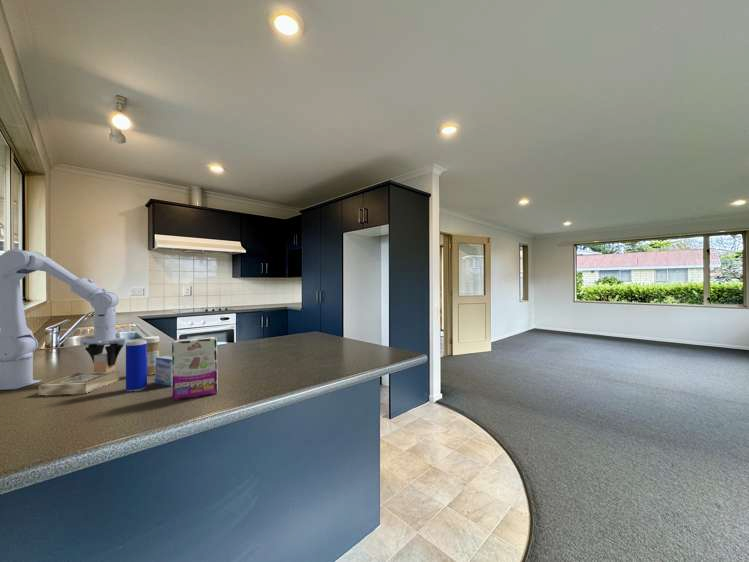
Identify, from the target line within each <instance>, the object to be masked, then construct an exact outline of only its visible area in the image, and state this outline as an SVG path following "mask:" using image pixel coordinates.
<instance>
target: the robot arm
mask: <svg viewBox="0 0 749 562" xmlns="http://www.w3.org/2000/svg"><path fill="white" fill-rule="evenodd" d="M37 271H40V272H44V273H46V274H49V275H51V276H52V277H54V278H56V279H58V280H59V281H61V282H63V283H65V284H67V285H69V288H70V291H71V292H72V293H73V294H74V295H77V296H79V297H81V299H83V300H85V301H87V302H88V303H90V305H91V307H92V308H93V312H94V314H93V338H88V339H87V338H85V339H81V340H80V342H79V343H80V345H79V346H80V347H81V346H82V347H85V346H86V347H85V351H86V352H87V353H88V354H89V356H90V358H91V360H92V363H93V364H94V355H98V354H101V353H104V352H103V351H104V349H105V351H106V353H107V355H108V366H112V365H115V366H116V362H117V359H118V356H119V354H120V352H121V350H122V348H123V347H124V346H126V343H127V341H130V340H129V339H130V338H124V337H123V338H121V337H117V335H116V332H117V331H116V329H117V328H116V325H117V324H116V322H117V321H116V319H117V318H116V316H117V313H116V306H117V305H118V304H119V297H118V296H117V295H116V293H114V292H111V291H110V292H109V291H108V289H106V288H105V287H104V288H103V287H101V286H99V285H98V284H96V283H94V282H95V281H94V280H93V278H86V277H85V278H84V277H83V278H79V277H77V275H75V274H74V273H72V272H70V271H69V270H67V269H66V268H64V267H63V266H61V265H60V264H58V263H57V262H56V261H54V260H53V259H52V258H50V257H48V256H45V255H44V254H42V252H37V251H30V250H29V251H28V250H23V249H19V248H12V249H9V250H6V251H5V252H4V253H2V254H0V390H17V389H18V390H19V389H20V388H25V387H27V386H31V385H34V384H38V383H40V381H41V382H42V380H41V379H36V380H35V379H34V352H35V351H37V349H38V347H39V341H38V339H36V337H35V336H34V332H33V330H31V329H30V328H29V327H28V326H27V320H26V319H27V318H26V314H25V307H24V306H25V305H24V302H23V293H22V288H21V287H22V286H21V280H22V279H24V278H25V277H27V275H29V274H32V273H35V272H37Z"/></svg>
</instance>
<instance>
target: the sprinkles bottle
mask: <svg viewBox="0 0 749 562" xmlns="http://www.w3.org/2000/svg"><path fill="white" fill-rule="evenodd" d="M143 340H146V342H147V376H154V375H153V374H155V375H156V358H157V357H160V344H159V343H160V336H159V335H157V336H156V335H154V336H153V335H152V336H145V337H144V338H143Z"/></svg>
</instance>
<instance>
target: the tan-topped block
mask: <svg viewBox="0 0 749 562" xmlns="http://www.w3.org/2000/svg"><path fill="white" fill-rule="evenodd" d="M114 370H116V364H115V365H112V366H108V355H107V352H102V353H101V354H98V355H94V363H93V372H113V371H114Z"/></svg>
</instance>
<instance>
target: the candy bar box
mask: <svg viewBox="0 0 749 562" xmlns="http://www.w3.org/2000/svg"><path fill="white" fill-rule="evenodd" d="M171 353H172V355H171V356H172V371H173V373H172V374H173V386H172V401H181V400H187V399H193V398H199V397H205V396H213V395H217V394H218V391H219V390H218V389H219V384H218V382H219V379H218V378H219V377H218V376H219V375H218V372H219V371H218V336H217V335H216V336H206V337H205V336H204V337H203V336H202V337H195V338H181V339H174V340H173V341H172V343H171Z"/></svg>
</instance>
